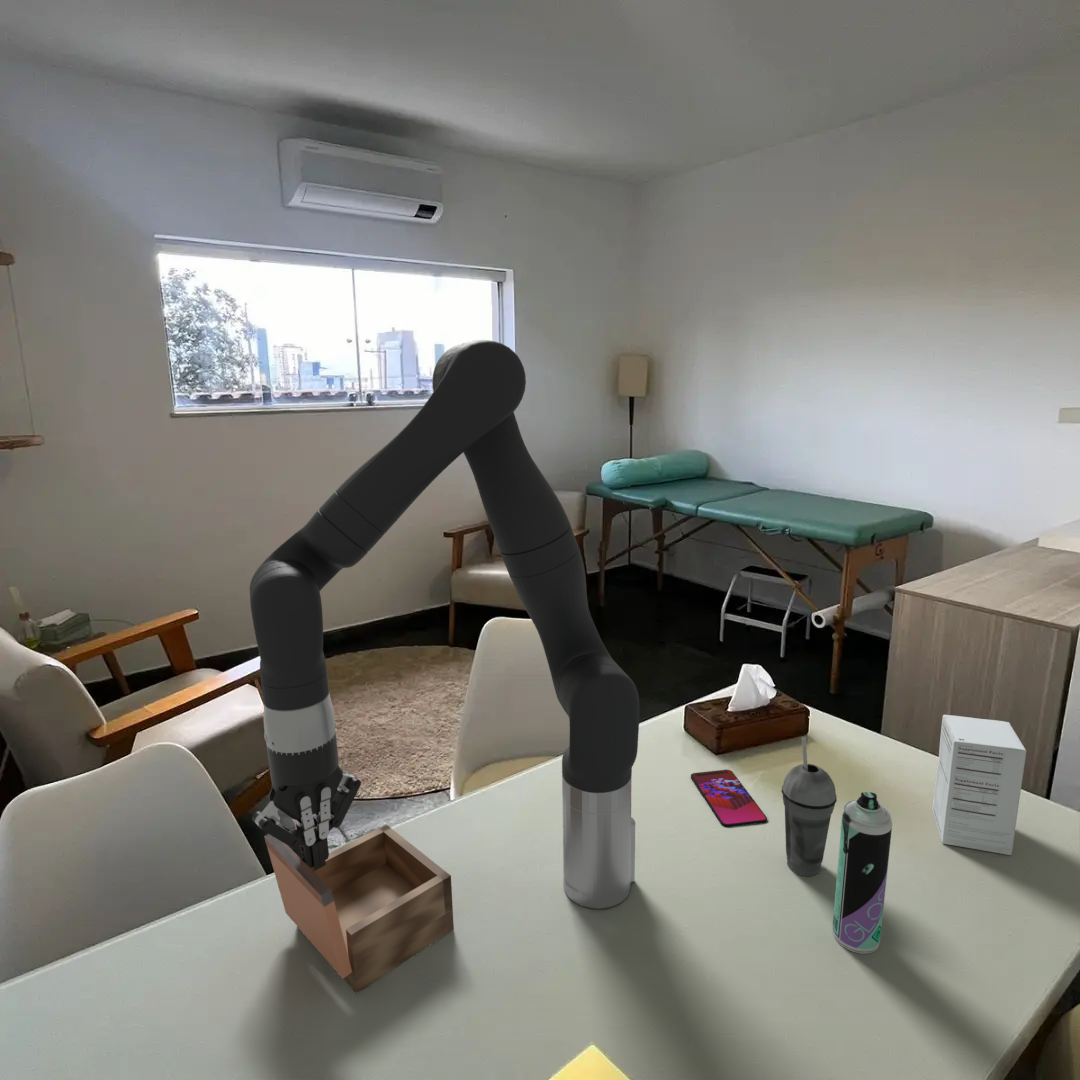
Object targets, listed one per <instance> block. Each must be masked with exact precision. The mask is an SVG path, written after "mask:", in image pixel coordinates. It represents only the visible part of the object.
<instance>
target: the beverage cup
mask: <svg viewBox="0 0 1080 1080" xmlns="http://www.w3.org/2000/svg"><path fill="white" fill-rule="evenodd" d="M801 747H802V762H803V764H798V765H796V766H795V767H792V768H791V769H790V770H789V772H787V774H786V776H785V777H784V780H783V784H782V787H781V790H780V791H781V794H782V800H783V801H782V802H783V805H784V824H785V831H784V832H785V854H786V860H787V861H786V865H787V867H788V868H789V870H790V871H792V872H793V873H794V874H797V875H799V876H804V877H813V876H817V875H818V874H819V873H820V871H821V867H822V863H823V860H824V854H825V849H826V844H827V838H828V833H829V829H830V827H829V826H830V822H831V817H832V814H833V813H834V809H835V806H836V803H837V802H838V801H837V797H838V796H837V793H836V786H835V784H834V781H833V780H832V777H831V776H830V775H829V773H828V771H826V770H824V769H823V767H820V766H818V765H815V764H813V763H812V764H811V763H808V752H807V750H808V749H807V739H806V736H801Z"/></svg>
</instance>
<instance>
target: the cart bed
mask: <svg viewBox="0 0 1080 1080" xmlns="http://www.w3.org/2000/svg"><path fill="white" fill-rule="evenodd" d="M325 861H326V865H325V866H323V867H321V868H319V869H317V870H316V871H314V872H315V873H316V874H317V875H318V876H319V877H320V878H321V879H322V880H323V882H324V883H325V884H326V885H327V886H328V887H329V888H330V889H331V891H332V895H333V899H334V903H335V907H336V911H337V915H338V918H339V922H340V926H341V930H342V934H343V938H344V942H345V946H346V950H347V954H348V958H349V962H350V966H351V969H352V973H350V974H349V975H348V976H346V977H345V978H344V979H343V980H344V981H345V982H346V983H347V985H348V986H349V987H350V989H352V990H353V991H354V992H355V994H358V993H360V992H361V991H363V990H364V989H366V988H367V987H369V986H370V985H372V984H373V983H375V982H377V981H378V980H380V979H381V978H383V977H384V976H386V975H388V974H389V973H390V972H392V971H393V970H394V969H397V967H400V966H401V965H403V964H404V963H406V962H407V961H408V960H410V959H411V958H413V957H414V956H416V955H417V953H418V954H419V953H420V952H422V951H424V950H425V949H427V948H428V947H430V946H431V945H433V944H434V943H436V942H437V941H439V940H440V939H442V938H443V937H445V936H447V935H448V934H449V933H451V932H452V931H454V930H455V928H454V927H455V926H454V909H453V908H454V907H453V893H452V888H453V887H452V875H451V874H450V873H448V872H447V871H446V870H444V869H443V868H442V866H441V867H440V865H438V864H437V863H435V861H434V860H432V859H431V858H430V857H428V855H426V854H424V853H423V852H422V851H420V849H419V848H417V847H416V846H414V845H413V844H412V843H411V842H410V841H408V840H407V839H405V838H404V837H403V836H402V835H400V834H399V833H398V832H397V831H395V830H394V829H393V828H392V827H391V826H389V825H387V824H384V825H382V826H380V827H378V828H376V829H375V830H374V829H373V830H372V831H369V832H368V833H367V834H364V835H363V836H360V837H358V838H356V839H354V840H353V841H350V842H348V843H347V844H345V845H342V846H341V847H338V848H336V849H335V850H332V851H330V852H329V857H328V859H327V860H325ZM447 933H448V934H447ZM441 937H442V938H441ZM438 939H439V940H438ZM436 940H437V941H436ZM435 941H436V942H435ZM432 943H433V944H432ZM430 944H431V945H430ZM429 945H430V946H429ZM426 947H427V948H426Z"/></svg>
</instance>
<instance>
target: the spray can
mask: <svg viewBox="0 0 1080 1080" xmlns="http://www.w3.org/2000/svg"><path fill="white" fill-rule="evenodd" d="M877 799H878V795H877V794H876V793H875V792H866V791H862V792H861V794H860V797H858V798H856V799H853V800H849V801H848V802H845V804H844V805H843V810H842V813H841V814H842V815H841V823H840V824H841V826H840V837H839V848H838V860H837V869H836V871H837V872H836V883H835V893H834V905H833V918H832V932H831V933H832V936H833V938H834V940H835V941H836V942H837V943H838V945H840V946H841V947H843V948H844V949H846V950H848V951H850V952H853V953H856V954H864V955H866V954H867V955H868V954H872V953H874V952H876V951H877V950H878V949H879V947H880V942H881V935H882V926H883V915H884V906H885V897H886V887H887V879H888V867H889V859H890V850H891V840H892V839H891V838H892V830H893V821H892V819H893V816H892V814H891V812H890V810H888V809H887V808H886V807H885V806H883V805H882V804H881V803H880V802H879V800H877Z"/></svg>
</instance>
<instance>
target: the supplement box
mask: <svg viewBox="0 0 1080 1080" xmlns="http://www.w3.org/2000/svg"><path fill="white" fill-rule="evenodd" d="M940 729H941V730H940V740H939V751H938V761H937V767H936V775H935V776H936V777H935V784H934V792H933V802H932V809H931V810H932V816H933V817H934V818H933V819H934V822H935V825H936V827H937V831H938V834H939V837H940V840H941V843H942V844H943V845H948V846H949V845H950V846H956V847H960V848H961V847H962V848H966V849H972V850H978V851H983V852H989V853H995V854H1002V855H1006V856H1007V855H1008V856H1012V855H1013V848H1014V841H1015V835H1016V834H1015V833H1016V827H1017V819H1018V814H1019V805H1020V798H1021V792H1022V785H1023V784H1022V783H1023V778H1024V770H1025V763H1026V757H1027V750H1026V748H1025V746H1024V744H1023V743H1022V742H1021V739H1020V738H1019V736H1018V735H1017V733H1016V731H1015V730H1014V728H1013V726H1012V725H1011V723H1010V722H1009V721H1004V720H996V719H987V718H985V719H984V718H975V717H969V716H963V715H962V716H961V715H954V714H953V715H951V714H943V715H942V720H941V728H940Z"/></svg>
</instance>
